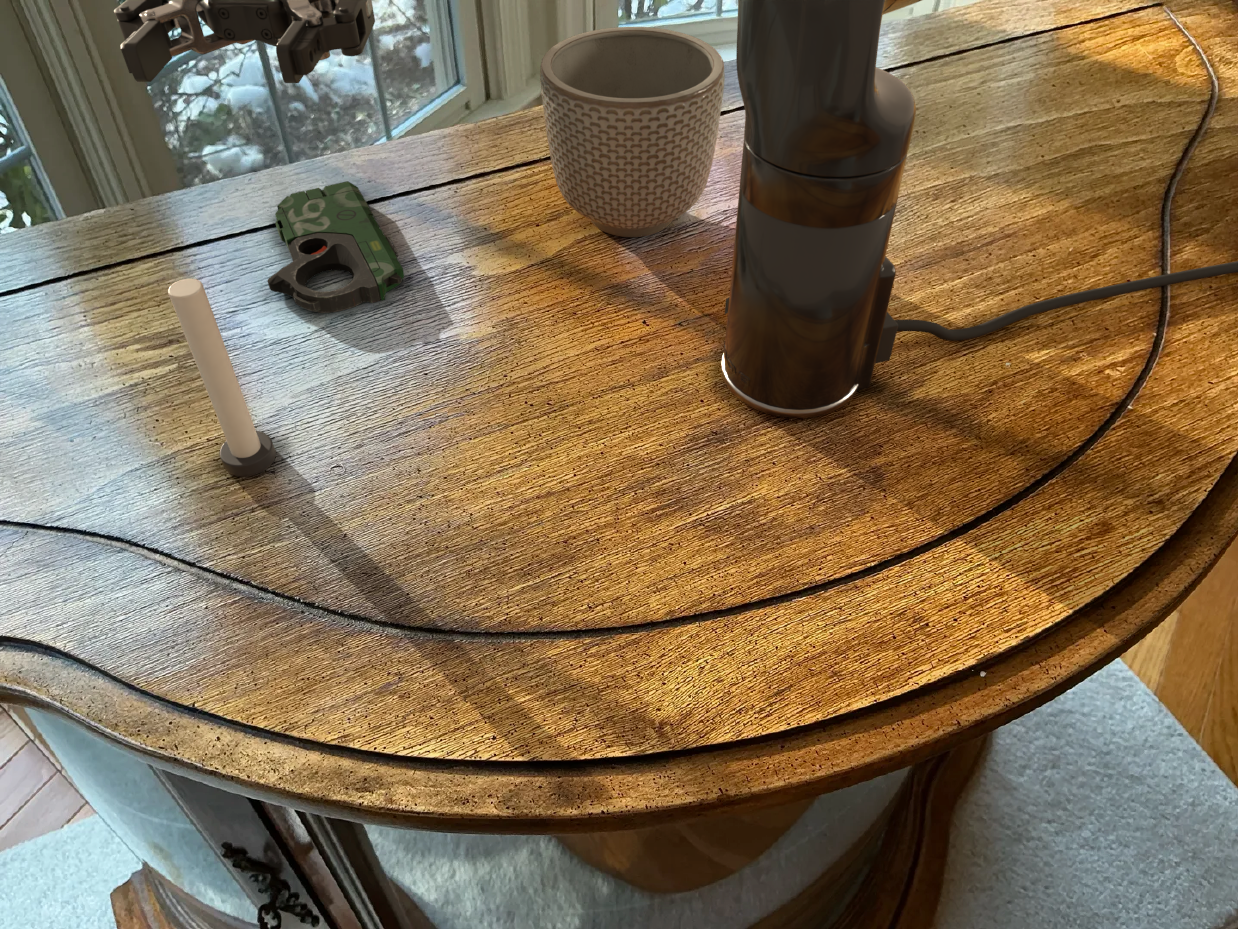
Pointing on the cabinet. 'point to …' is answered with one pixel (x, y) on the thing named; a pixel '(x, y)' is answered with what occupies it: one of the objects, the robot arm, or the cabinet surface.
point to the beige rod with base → (220, 382)
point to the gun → (334, 248)
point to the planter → (632, 124)
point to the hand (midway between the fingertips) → (210, 65)
